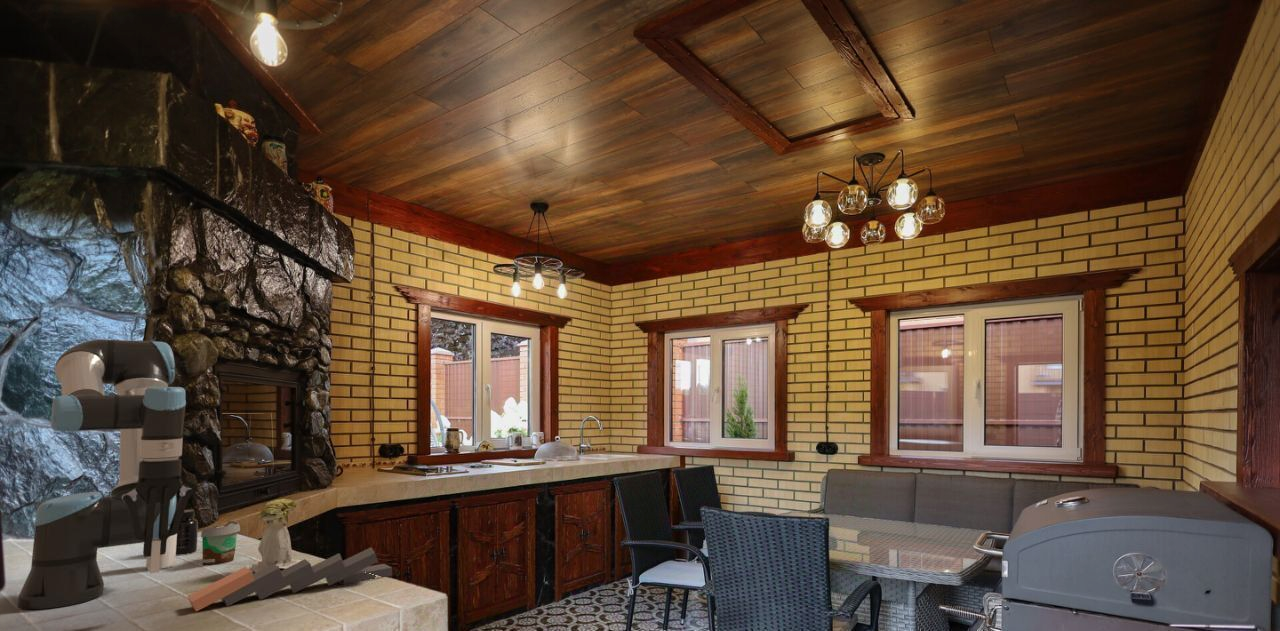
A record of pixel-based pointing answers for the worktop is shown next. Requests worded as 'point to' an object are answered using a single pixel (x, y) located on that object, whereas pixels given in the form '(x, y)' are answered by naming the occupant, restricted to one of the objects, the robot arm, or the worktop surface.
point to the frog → (276, 536)
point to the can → (167, 553)
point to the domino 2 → (254, 584)
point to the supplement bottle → (187, 533)
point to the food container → (219, 543)
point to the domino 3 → (287, 578)
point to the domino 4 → (319, 572)
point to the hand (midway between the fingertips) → (153, 571)
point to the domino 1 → (220, 588)
